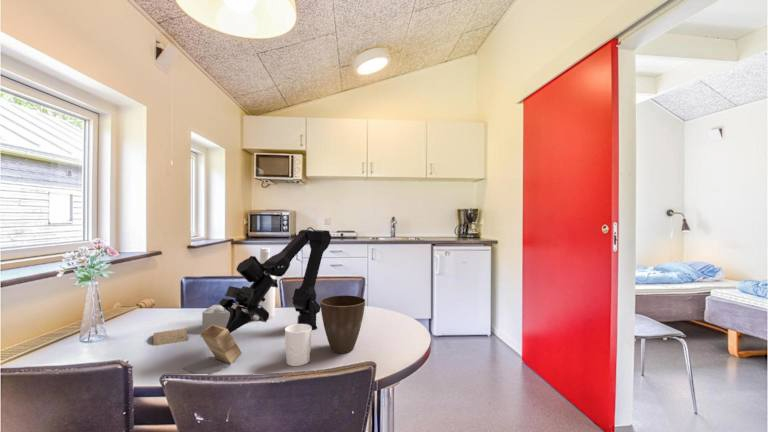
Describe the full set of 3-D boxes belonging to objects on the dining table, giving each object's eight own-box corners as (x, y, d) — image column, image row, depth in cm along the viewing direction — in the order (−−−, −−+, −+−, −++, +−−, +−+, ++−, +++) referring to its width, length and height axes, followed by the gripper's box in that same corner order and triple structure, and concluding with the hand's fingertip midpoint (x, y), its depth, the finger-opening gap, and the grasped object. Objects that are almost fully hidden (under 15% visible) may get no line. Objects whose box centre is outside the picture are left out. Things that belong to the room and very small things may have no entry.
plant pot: (325, 339, 113) (325, 294, 113) (366, 340, 113) (367, 295, 113) (314, 357, 98) (315, 305, 98) (362, 358, 98) (363, 306, 98)
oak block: (226, 347, 101) (211, 323, 96) (242, 353, 96) (227, 328, 92) (215, 357, 98) (199, 333, 93) (231, 364, 93) (215, 339, 89)
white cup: (287, 369, 90) (287, 334, 90) (282, 358, 97) (282, 325, 97) (314, 364, 94) (314, 330, 94) (307, 353, 101) (308, 322, 101)
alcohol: (249, 317, 138) (250, 248, 138) (269, 313, 144) (270, 247, 144) (257, 322, 131) (258, 249, 132) (278, 317, 137) (279, 248, 138)
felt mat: (210, 358, 97) (210, 357, 97) (229, 366, 92) (229, 365, 92) (182, 368, 90) (182, 367, 90) (202, 377, 85) (202, 376, 85)
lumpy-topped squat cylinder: (210, 323, 129) (210, 302, 129) (243, 322, 131) (244, 301, 131) (199, 332, 119) (199, 309, 119) (236, 331, 121) (236, 308, 121)
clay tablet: (188, 342, 111) (188, 334, 111) (152, 349, 105) (152, 340, 105) (185, 330, 123) (185, 323, 123) (153, 335, 117) (153, 328, 117)
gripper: (225, 273, 106) (190, 314, 96) (261, 279, 96) (226, 325, 87) (245, 292, 112) (214, 333, 103) (282, 299, 103) (251, 345, 93)
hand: (225, 333), depth 96 cm, fingers closed
